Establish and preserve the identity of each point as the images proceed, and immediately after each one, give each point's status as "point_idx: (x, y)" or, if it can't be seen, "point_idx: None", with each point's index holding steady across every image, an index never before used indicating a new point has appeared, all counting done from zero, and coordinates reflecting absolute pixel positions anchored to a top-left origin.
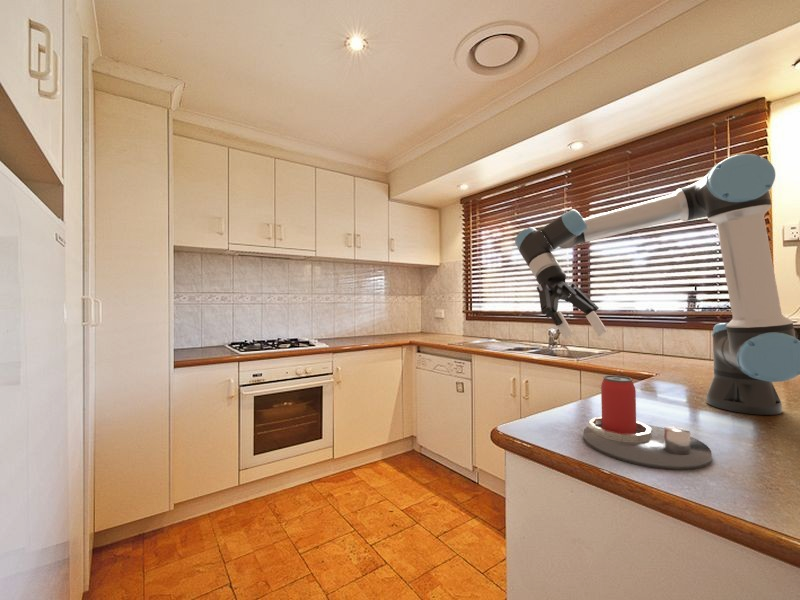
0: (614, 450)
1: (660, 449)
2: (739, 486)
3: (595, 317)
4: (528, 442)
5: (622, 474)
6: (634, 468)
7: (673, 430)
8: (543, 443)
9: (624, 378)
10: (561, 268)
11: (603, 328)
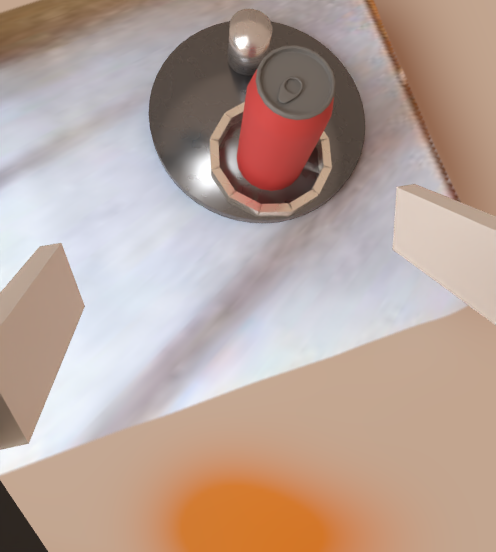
0: (353, 98)
1: None
2: None
3: (19, 320)
4: None
5: (385, 59)
6: (352, 65)
7: (260, 28)
8: None
9: (264, 84)
10: None
11: (56, 257)
